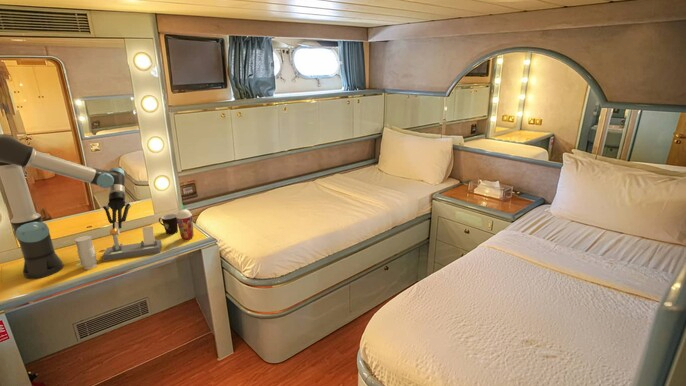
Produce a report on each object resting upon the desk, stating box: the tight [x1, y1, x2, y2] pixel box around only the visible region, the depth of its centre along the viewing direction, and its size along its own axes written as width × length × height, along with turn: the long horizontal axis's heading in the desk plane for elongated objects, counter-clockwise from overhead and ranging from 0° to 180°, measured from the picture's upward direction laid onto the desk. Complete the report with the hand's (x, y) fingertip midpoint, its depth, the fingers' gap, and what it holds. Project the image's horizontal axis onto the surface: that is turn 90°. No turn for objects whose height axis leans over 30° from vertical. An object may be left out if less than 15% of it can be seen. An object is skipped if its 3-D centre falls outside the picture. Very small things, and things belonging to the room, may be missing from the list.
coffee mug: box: [158, 213, 179, 235], centre depth 224 cm, size 12×9×10 cm
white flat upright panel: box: [141, 226, 156, 245], centre depth 201 cm, size 5×1×9 cm, turn 109°
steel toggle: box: [109, 227, 120, 249], centre depth 194 cm, size 4×4×11 cm
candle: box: [74, 235, 98, 270], centre depth 183 cm, size 7×7×15 cm
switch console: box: [102, 238, 163, 262], centre depth 198 cm, size 26×10×5 cm, turn 109°
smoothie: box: [176, 204, 194, 241], centre depth 213 cm, size 8×8×20 cm
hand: (117, 234), depth 196 cm, fingers closed
